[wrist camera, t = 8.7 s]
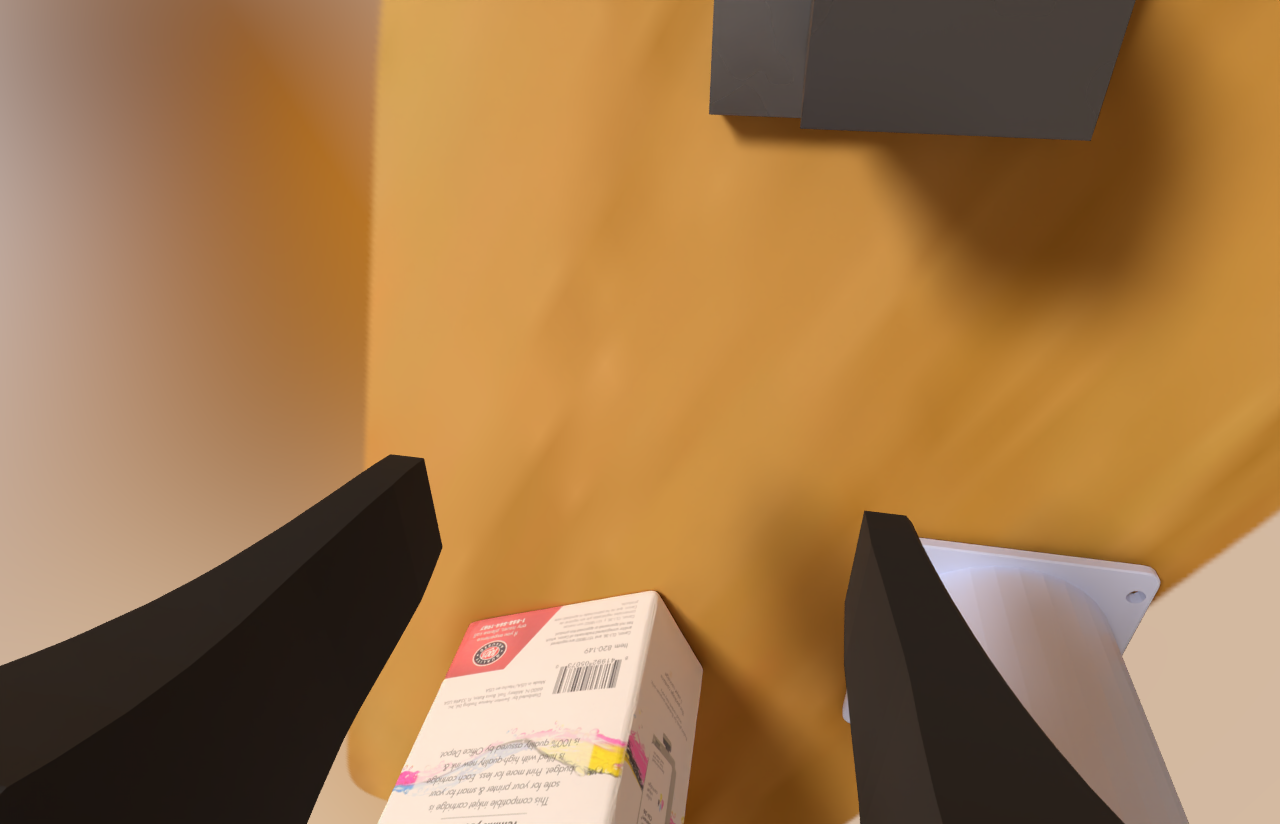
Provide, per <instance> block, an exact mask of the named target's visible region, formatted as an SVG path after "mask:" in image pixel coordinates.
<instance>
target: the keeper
mask: <svg viewBox="0 0 1280 824" xmlns="http://www.w3.org/2000/svg"><path fill="white" fill-rule="evenodd" d="M810 7H811V0H714V15H713V38H712V61H711V83H710V106H709V114H714V115H739V116H764V117H789V118H801V109H802V95H803V80H804V65H805V53H806V44H807V35H808V25H809V16H810Z"/></svg>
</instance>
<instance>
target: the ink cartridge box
mask: <svg viewBox="0 0 1280 824" xmlns="http://www.w3.org/2000/svg"><path fill="white" fill-rule="evenodd" d="M702 675H703V669H702V666H701V665H700V663H699V661H698V660H697V658H696V656H695V655H694V653H693V651H692V649H691V648H690V646H689V644H688V643H687V641H686V639H685V638H684V636H683V634H682V633H681V631H680V629H679V628H678V626H677V624H676V622H675V621H674V619H673V617H672V615H671V614H670V612H669V610H668V609H667V607H666V605H665V604H664V602H663V600H662V598H661V597H660V595H659V594H658V593H657V592H656V591H646V592H640V593H635V594H629V595H622V596H616V597H611V598H605V599H600V600H594V601H588V602H582V603H577V604H571V605H566V606H559V607H554V608H547V609H543V610H537V611H530V612H525V613H518V614H513V615H507V616H501V617H496V618H490V619H485V620H481V621H477V622H473V623H471V624H470V625H469V627H468V629H467V631H466V633H465V636H464V638H463V640H462V642H461V644H460V646H459V648H458V651H457V653H456V655H455V657H454V659H453V661H452V664H451V666H450V668H449V670H448V672H447V674H446V677H445V679H444V681H443V682H442V685H441V687H440V690H439V692H438V694H437V696H436V698H435V701H434V703H433V705H432V707H431V709H430V711H429V713H428V715H427V717H426V719H425V722H424V724H423V726H422V728H421V730H420V733H419V735H418V737H417V739H416V741H415V743H414V746H413V748H412V750H411V752H410V755H409V757H408V759H407V761H406V763H405V765H404V767H403V769H402V772H401V774H400V776H399V778H398V780H397V783H396V785H395V787H394V789H393V791H392V793H391V796H390V798H389V800H388V802H387V804H386V807H385V809H384V811H383V813H382V815H381V817H380V819H379V822H378V824H684V817H685V809H686V800H687V793H688V785H689V778H690V770H691V761H692V753H693V746H694V738H695V730H696V721H697V714H698V707H699V699H700V692H701V684H702Z"/></svg>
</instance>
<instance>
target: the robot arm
mask: <svg viewBox="0 0 1280 824" xmlns="http://www.w3.org/2000/svg"><path fill="white" fill-rule="evenodd" d="M441 550H442V542H441V538H440V533H439V528H438V523H437V519H436V514H435V509H434V504H433V499H432V495H431V490H430V485H429V480H428V476H427V471H426V466H425V461H424V458H416V457H408V456H400V455H391V454H390V455H389V456H387V457H385V458H384V459H382V460H381V461H379V462H377V463H376V464H374V465H373V466H371V467H370V468H368V469H367V470H365V471H364V472H362V473H361V474H359V475H358V476H356V477H355V478H353V479H352V480H351V481H349V482H348V483H346V484H345V485H343V486H342V487H340V488H339V489H338V490H336V491H334V492H333V493H332V494H330V495H329V496H327V497H326V498H324V499H323V500H321V501H320V502H318V503H317V504H315V505H314V506H312V507H311V508H309V509H308V510H306V511H305V512H303V513H302V514H300V515H299V516H297V517H296V518H295V519H293V520H291V521H290V522H289V523H287V524H285V525H284V526H283V527H281V528H279V529H278V530H276V531H274V532H273V533H271V534H270V535H268V536H266V537H265V538H263V539H262V540H260V541H258V542H257V543H255V544H253V545H252V546H251V547H249V548H247V549H245V550H244V551H242V552H241V553H239V554H237V555H236V556H234V557H232V558H231V559H229V560H228V561H226V562H224V563H222V564H221V565H219V566H217V567H216V568H214V569H212V570H210V571H209V572H207V573H205V574H203V575H201V576H200V577H198V578H196V579H194V580H192V581H190V582H189V583H187V584H185V585H183V586H181V587H179V588H177V589H175V590H173V591H171V592H169V593H167V594H165V595H164V596H162V597H160V598H158V599H156V600H154V601H152V602H150V603H148V604H146V605H144V606H142V607H139V608H137V609H135V610H133V611H130V612H128V613H126V614H124V615H122V616H120V617H118V618H115V619H113V620H111V621H108V622H106V623H104V624H102V625H100V626H97V627H95V628H93V629H91V630H89V631H86V632H84V633H82V634H80V635H77V636H75V637H73V638H70V639H68V640H66V641H63V642H61V643H58V644H56V645H54V646H51V647H48V648H46V649H43V650H41V651H38V652H36V653H33V654H31V655H28V656H25V657H23V658H20V659H17V660H15V661H12V662H9V663H7V664H4V665H1V666H0V824H307V822H308V820H309V817H310V815H311V813H312V810H313V808H314V805H315V803H316V801H317V798H318V796H319V794H320V791H321V789H322V787H323V785H324V782H325V780H326V778H327V775H328V773H329V771H330V769H331V767H332V764H333V762H334V760H335V758H336V755H337V753H338V751H339V749H340V746H341V744H342V742H343V740H344V738H345V736H346V734H347V732H348V730H349V728H350V726H351V724H352V722H353V721H354V719H355V717H356V715H357V713H358V711H359V709H360V708H361V706H362V704H363V702H364V701H365V699H366V697H367V695H368V694H369V692H370V690H371V688H372V687H373V685H374V683H375V681H376V680H377V678H378V676H379V674H380V673H381V671H382V669H383V667H384V666H385V664H386V662H387V661H388V659H389V657H390V655H391V654H392V652H393V650H394V648H395V647H396V645H397V643H398V641H399V639H400V638H401V636H402V634H403V632H404V631H405V629H406V627H407V625H408V623H409V622H410V620H411V618H412V616H413V614H414V613H415V611H416V609H417V607H418V605H419V603H420V602H421V600H422V597H423V595H424V593H425V590H426V588H427V585H428V583H429V581H430V578H431V576H432V573H433V571H434V568H435V565H436V563H437V560H438V558H439V555H440V552H441ZM1160 583H1161V582H1160V579H1159V577H1158V575H1157V573H1156V571H1155V570H1154V569H1152V568H1151V567H1148V566H1145V565H1137V564H1129V563H1121V562H1113V561H1105V560H1096V559H1088V558H1080V557H1072V556H1064V555H1056V554H1048V553H1040V552H1031V551H1023V550H1015V549H1007V548H999V547H991V546H983V545H975V544H966V543H958V542H950V541H942V540H934V539H926V538H919V537H918V535H917V533H916V531H915V529H914V526H913V524H912V522H911V521H910V520H909V519H908V518H907V516H904V515H896V514H887V513H879V512H871V511H864V515H863V520H862V525H861V529H860V534H859V539H858V543H857V548H856V553H855V557H854V562H853V567H852V571H851V576H850V581H849V585H848V590H847V595H846V599H845V621H844V667H845V677H846V687H847V691H846V695H845V699H844V703H843V718H844V719H845V721H847V722H848V723H850V725H851V735H852V744H853V753H854V763H855V772H856V781H857V790H858V800H859V812H860V824H1189V822H1188V820H1187V817H1186V815H1185V812H1184V810H1183V808H1182V805H1181V802H1180V800H1179V798H1178V796H1177V793H1176V790H1175V787H1174V785H1173V782H1172V780H1171V778H1170V775H1169V772H1168V770H1167V768H1166V765H1165V762H1164V760H1163V757H1162V755H1161V753H1160V750H1159V748H1158V745H1157V743H1156V740H1155V737H1154V735H1153V733H1152V730H1151V727H1150V725H1149V722H1148V720H1147V718H1146V715H1145V713H1144V710H1143V708H1142V705H1141V703H1140V700H1139V698H1138V695H1137V693H1136V690H1135V688H1134V685H1133V683H1132V680H1131V678H1130V675H1129V673H1128V670H1127V668H1126V665H1125V663H1124V660H1123V658H1122V655H1123V653H1124V651H1125V649H1126V647H1127V645H1128V644H1129V642H1130V640H1131V638H1132V636H1133V635H1134V633H1135V631H1136V629H1137V627H1138V625H1139V623H1140V622H1141V620H1142V618H1143V616H1144V614H1145V612H1146V611H1147V609H1148V607H1149V605H1150V604H1151V602H1152V600H1153V598H1154V596H1155V594H1156V593H1157V591H1158V589H1159V587H1160ZM1133 591H1138V592H1136V593H1131V592H1133ZM1129 593H1130V594H1129Z"/></svg>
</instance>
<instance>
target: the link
mask: <svg viewBox="0 0 1280 824" xmlns="http://www.w3.org/2000/svg"><path fill="white" fill-rule="evenodd" d="M1135 1H1136V0H811V7H810V16H809V25H808V35H807V44H806V53H805V65H804V80H803V95H802V109H801V124H800V128H801V129H825V130H848V131H872V132H896V133H920V134H943V135H967V136H991V137H1015V138H1038V139H1062V140H1086V141H1091V138H1092V135H1093V132H1094V129H1095V125H1096V122H1097V119H1098V116H1099V113H1100V110H1101V107H1102V104H1103V100H1104V97H1105V94H1106V91H1107V88H1108V85H1109V82H1110V79H1111V75H1112V72H1113V69H1114V66H1115V63H1116V60H1117V57H1118V54H1119V51H1120V47H1121V44H1122V41H1123V38H1124V35H1125V32H1126V29H1127V26H1128V22H1129V19H1130V16H1131V13H1132V10H1133V7H1134V4H1135Z"/></svg>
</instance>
